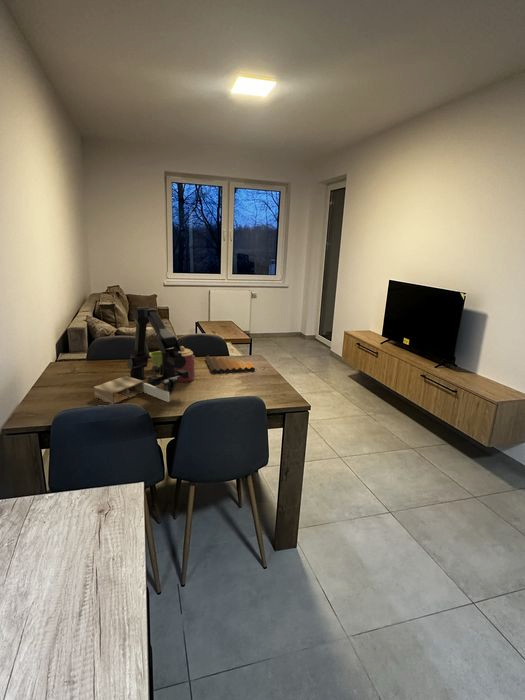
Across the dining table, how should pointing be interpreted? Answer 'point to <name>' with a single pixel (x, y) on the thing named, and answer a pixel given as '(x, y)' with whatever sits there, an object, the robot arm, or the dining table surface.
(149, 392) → the white flat slab piece
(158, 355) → the plant pot
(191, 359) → the canister
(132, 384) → the cabinet
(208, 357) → the scalloped wooden trivet
